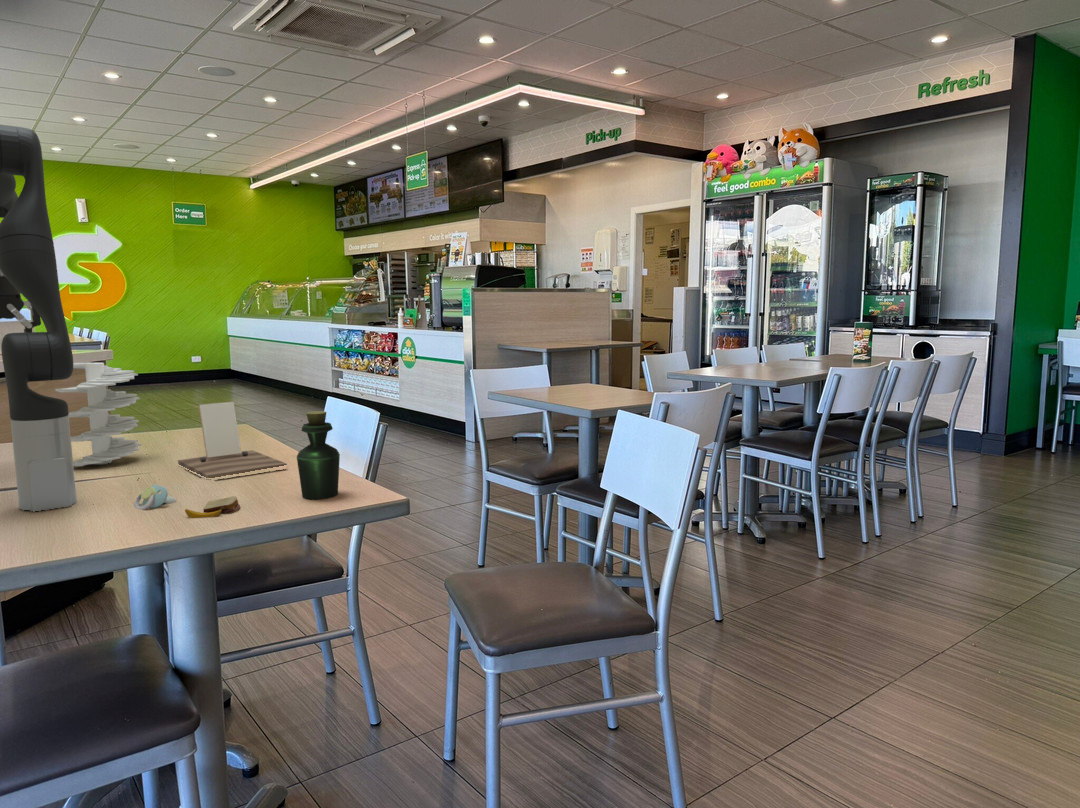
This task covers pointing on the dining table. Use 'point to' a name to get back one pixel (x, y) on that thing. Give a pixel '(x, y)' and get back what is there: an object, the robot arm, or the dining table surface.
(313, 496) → the potion bottle
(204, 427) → the flip tile
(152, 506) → the pacifier
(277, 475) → the dining table surface
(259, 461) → the board
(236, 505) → the toy sandwich meal
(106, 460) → the spiral staircase
